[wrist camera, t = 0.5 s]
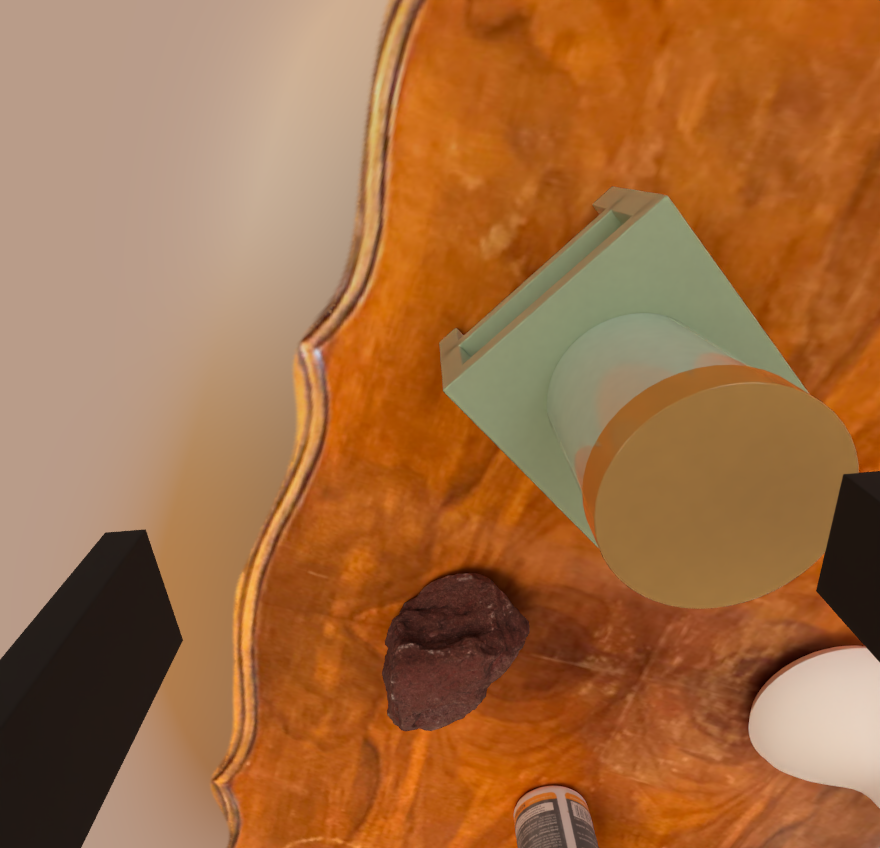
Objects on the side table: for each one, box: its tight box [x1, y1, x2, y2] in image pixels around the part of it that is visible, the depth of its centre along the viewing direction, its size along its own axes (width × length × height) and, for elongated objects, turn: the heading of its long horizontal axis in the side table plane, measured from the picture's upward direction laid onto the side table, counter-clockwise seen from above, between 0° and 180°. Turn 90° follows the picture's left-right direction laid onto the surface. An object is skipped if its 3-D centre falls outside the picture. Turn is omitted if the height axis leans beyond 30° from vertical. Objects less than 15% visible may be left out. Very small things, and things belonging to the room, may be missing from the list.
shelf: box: [439, 187, 808, 548], centre depth 28 cm, size 11×11×7 cm
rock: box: [382, 573, 529, 731], centre depth 37 cm, size 11×6×8 cm
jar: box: [547, 313, 858, 609], centre depth 21 cm, size 7×7×8 cm
